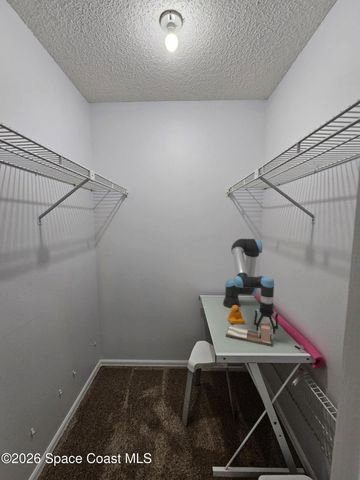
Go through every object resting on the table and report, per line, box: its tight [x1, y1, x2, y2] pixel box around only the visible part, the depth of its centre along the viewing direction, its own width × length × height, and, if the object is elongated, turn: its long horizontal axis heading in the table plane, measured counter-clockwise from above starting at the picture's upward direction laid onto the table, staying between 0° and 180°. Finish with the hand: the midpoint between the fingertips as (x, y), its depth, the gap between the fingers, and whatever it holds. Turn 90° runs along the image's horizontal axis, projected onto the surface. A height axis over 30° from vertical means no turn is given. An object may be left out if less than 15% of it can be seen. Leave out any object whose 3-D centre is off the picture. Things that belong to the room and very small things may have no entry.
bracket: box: [227, 305, 246, 326], centre depth 154 cm, size 11×7×12 cm, turn 94°
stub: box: [260, 321, 271, 342], centre depth 130 cm, size 9×5×8 cm, turn 158°
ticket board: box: [225, 326, 274, 347], centre depth 134 cm, size 12×28×2 cm, turn 68°
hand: (265, 337), depth 130 cm, fingers open, 7 cm apart
